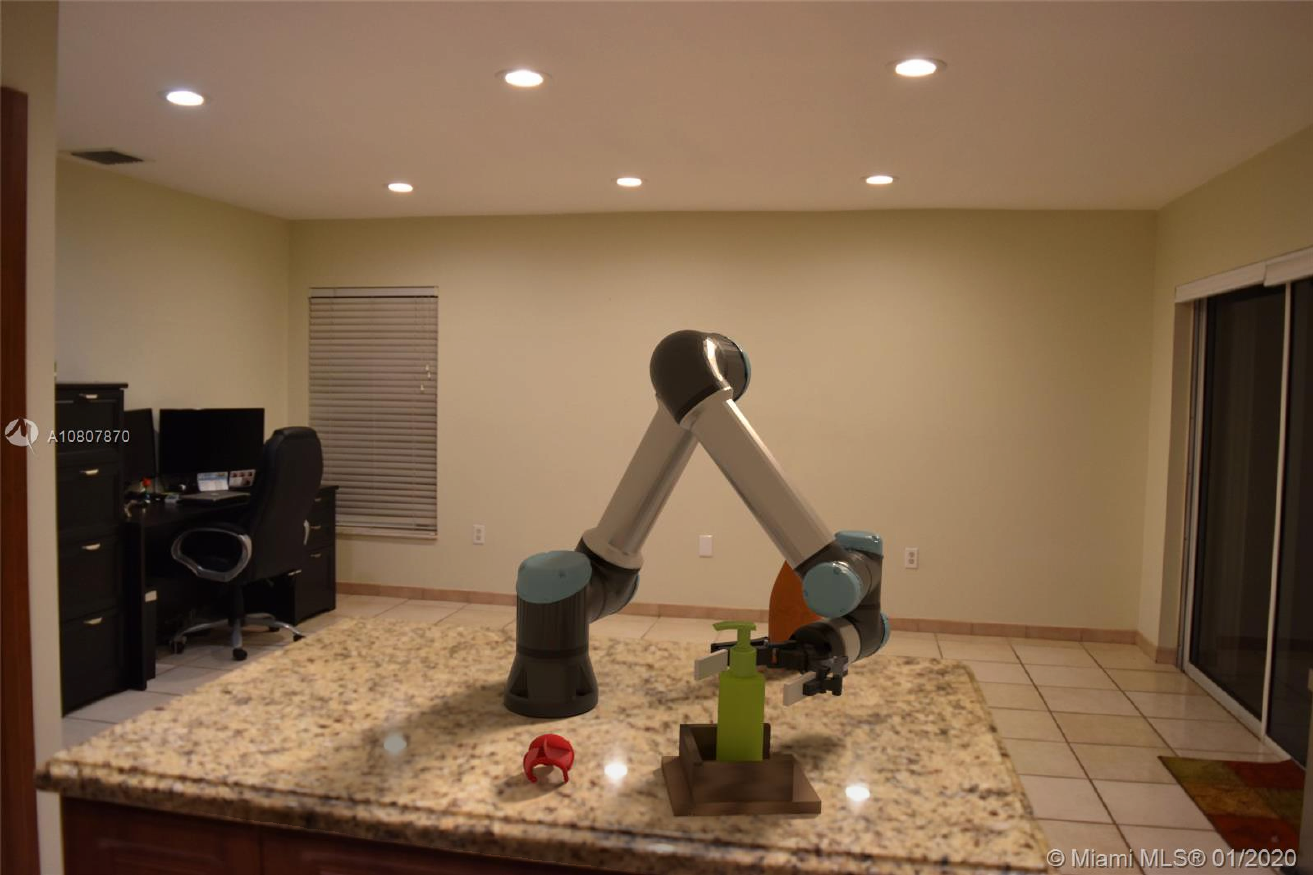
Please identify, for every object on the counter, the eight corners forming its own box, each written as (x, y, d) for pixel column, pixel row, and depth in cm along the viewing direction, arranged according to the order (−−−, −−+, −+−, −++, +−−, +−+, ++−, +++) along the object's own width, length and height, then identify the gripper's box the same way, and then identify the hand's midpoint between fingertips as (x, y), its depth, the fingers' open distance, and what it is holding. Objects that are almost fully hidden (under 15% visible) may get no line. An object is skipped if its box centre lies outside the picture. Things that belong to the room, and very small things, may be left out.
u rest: (673, 816, 108) (675, 767, 108) (661, 766, 122) (662, 723, 122) (821, 813, 110) (822, 765, 110) (791, 764, 124) (793, 721, 123)
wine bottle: (819, 672, 164) (825, 507, 163) (765, 667, 166) (770, 505, 165) (820, 656, 174) (826, 501, 172) (769, 652, 176) (774, 498, 174)
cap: (580, 766, 114) (584, 727, 119) (535, 754, 113) (541, 714, 117) (557, 800, 118) (562, 761, 123) (514, 789, 117) (521, 749, 122)
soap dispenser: (704, 766, 119) (710, 616, 118) (756, 766, 119) (762, 616, 118) (711, 786, 113) (716, 628, 112) (765, 786, 113) (771, 629, 112)
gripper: (903, 693, 123) (826, 737, 107) (749, 654, 139) (662, 688, 123) (905, 638, 123) (828, 675, 106) (751, 606, 138) (663, 633, 122)
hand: (739, 682), depth 114 cm, fingers open, 13 cm apart
